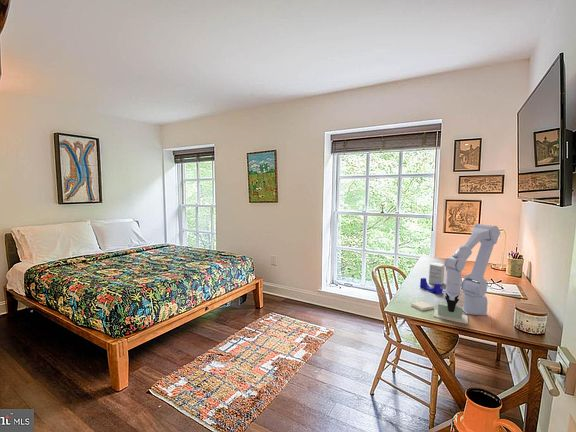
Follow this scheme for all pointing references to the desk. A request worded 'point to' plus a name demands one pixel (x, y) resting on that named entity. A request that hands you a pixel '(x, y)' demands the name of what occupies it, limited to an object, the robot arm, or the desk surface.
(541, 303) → the desk surface
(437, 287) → the cable clip
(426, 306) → the tile
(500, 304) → the desk surface
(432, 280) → the supplement box
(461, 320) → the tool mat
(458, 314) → the block
